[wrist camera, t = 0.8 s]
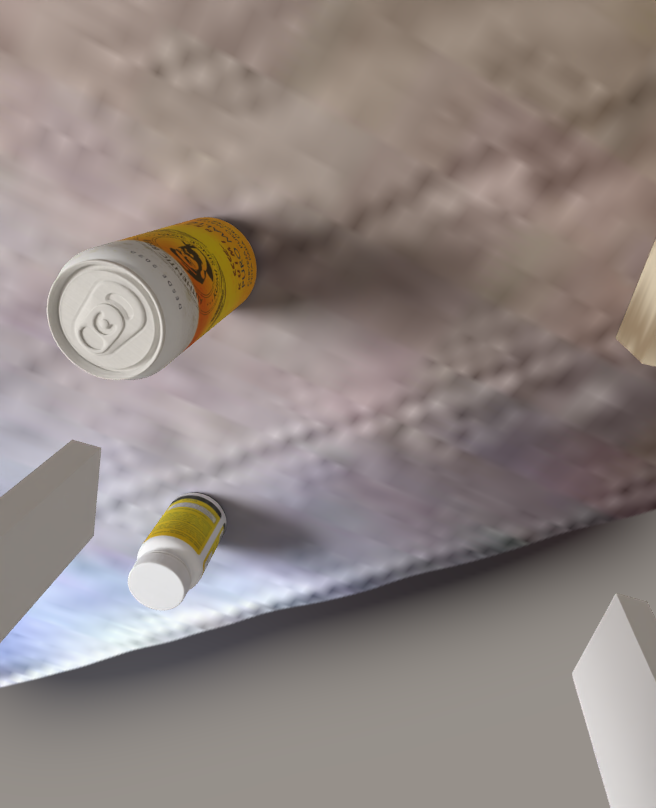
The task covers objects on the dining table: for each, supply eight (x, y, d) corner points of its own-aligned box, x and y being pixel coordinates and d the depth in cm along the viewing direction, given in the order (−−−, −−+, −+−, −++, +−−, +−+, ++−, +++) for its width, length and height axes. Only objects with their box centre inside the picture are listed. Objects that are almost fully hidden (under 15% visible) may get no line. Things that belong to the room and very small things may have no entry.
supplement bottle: (162, 493, 47) (112, 559, 39) (219, 488, 46) (178, 554, 38) (179, 544, 49) (134, 617, 41) (234, 540, 48) (198, 614, 40)
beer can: (278, 265, 39) (200, 326, 25) (219, 327, 41) (117, 414, 27) (210, 195, 38) (89, 218, 24) (152, 262, 40) (12, 319, 26)
